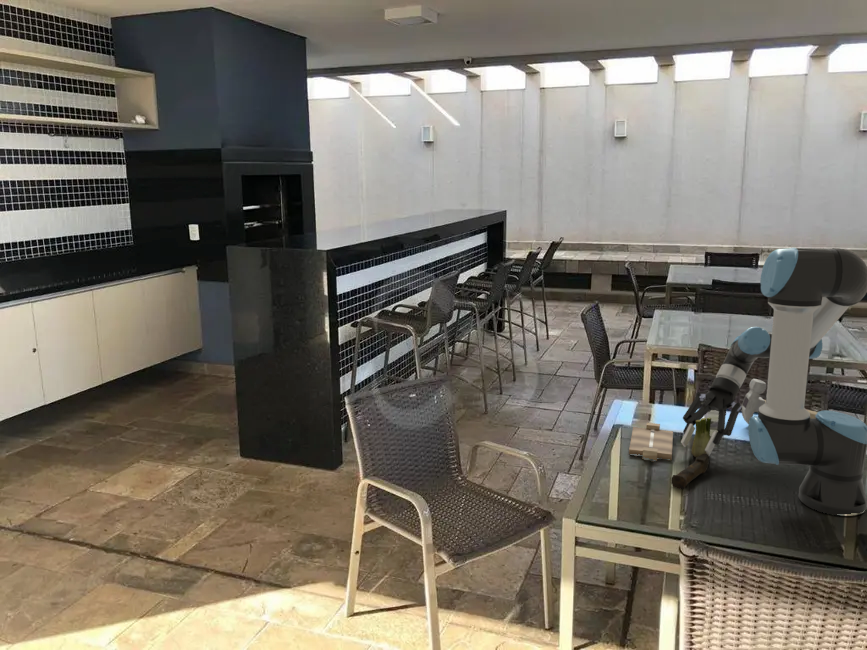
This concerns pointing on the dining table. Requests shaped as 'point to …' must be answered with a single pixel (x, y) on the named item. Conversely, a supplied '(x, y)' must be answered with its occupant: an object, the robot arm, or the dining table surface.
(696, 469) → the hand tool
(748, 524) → the dining table surface
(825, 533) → the dining table surface
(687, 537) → the dining table surface
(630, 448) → the tan wooden board
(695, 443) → the fennel bulb
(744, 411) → the hammer
